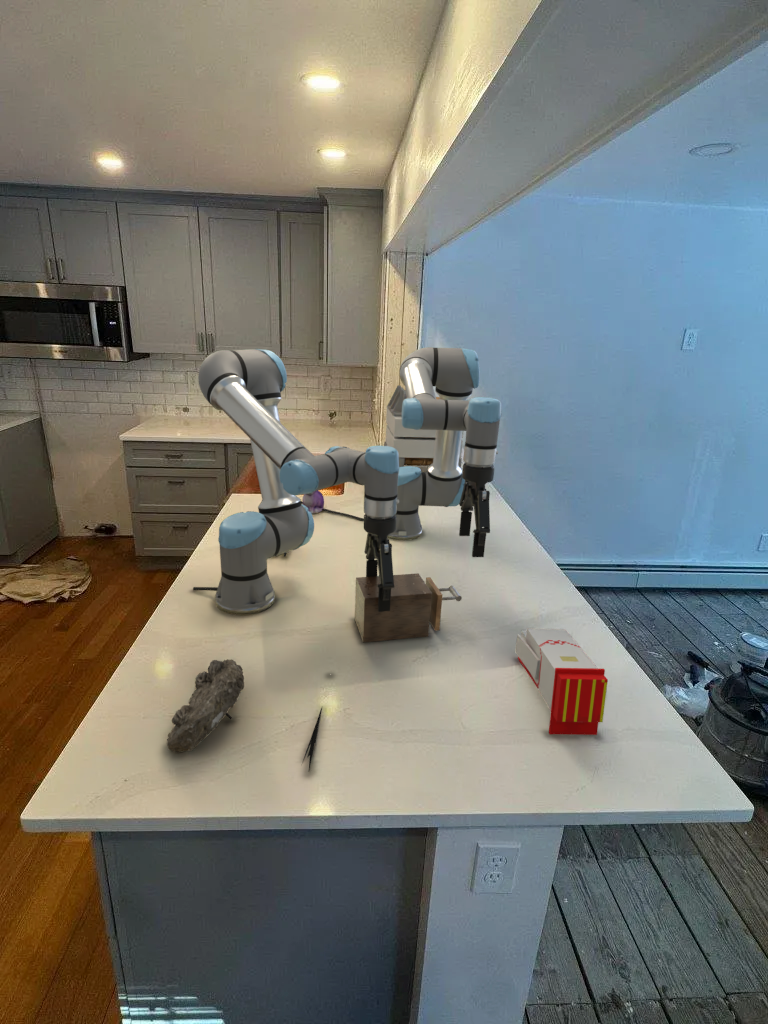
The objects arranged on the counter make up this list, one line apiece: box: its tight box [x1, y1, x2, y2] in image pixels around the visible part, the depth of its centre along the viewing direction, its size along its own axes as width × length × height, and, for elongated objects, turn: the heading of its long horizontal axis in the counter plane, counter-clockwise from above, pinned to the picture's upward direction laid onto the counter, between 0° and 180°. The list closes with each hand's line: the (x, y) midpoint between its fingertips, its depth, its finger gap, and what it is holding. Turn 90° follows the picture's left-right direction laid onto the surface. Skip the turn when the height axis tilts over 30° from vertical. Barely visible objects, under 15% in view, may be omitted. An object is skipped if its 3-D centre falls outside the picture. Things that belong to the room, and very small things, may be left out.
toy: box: [514, 627, 609, 736], centre depth 119 cm, size 12×13×30 cm
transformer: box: [383, 384, 465, 469], centre depth 268 cm, size 34×33×41 cm
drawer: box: [425, 576, 463, 632], centre depth 141 cm, size 21×10×10 cm, turn 104°
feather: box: [301, 673, 332, 771], centre depth 108 cm, size 2×28×2 cm
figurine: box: [301, 490, 325, 515], centre depth 216 cm, size 9×10×15 cm
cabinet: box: [354, 572, 432, 643], centre depth 139 cm, size 16×11×12 cm, turn 104°
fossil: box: [166, 658, 245, 754], centre depth 106 cm, size 22×10×15 cm
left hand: (377, 596), depth 137 cm, fingers open, 13 cm apart
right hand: (470, 545), depth 143 cm, fingers open, 13 cm apart
